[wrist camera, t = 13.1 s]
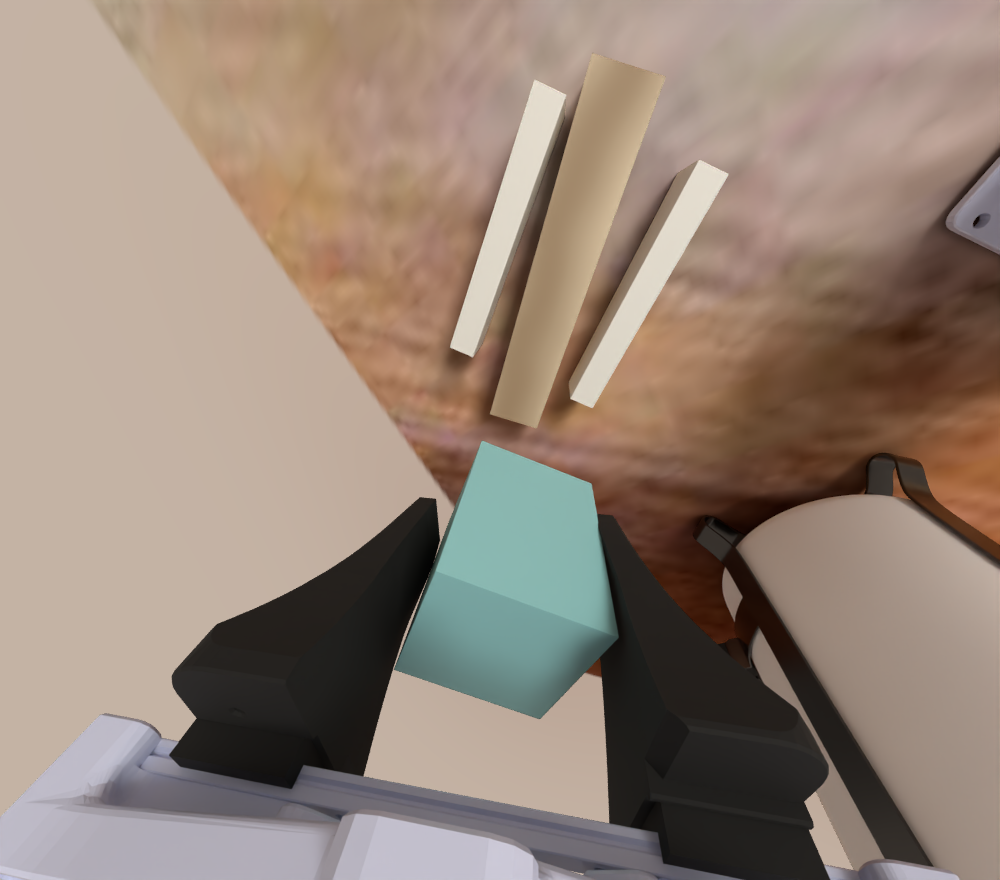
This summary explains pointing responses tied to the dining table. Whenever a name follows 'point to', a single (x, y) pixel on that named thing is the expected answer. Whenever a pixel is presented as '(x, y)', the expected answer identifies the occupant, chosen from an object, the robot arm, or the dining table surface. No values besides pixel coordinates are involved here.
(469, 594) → the block
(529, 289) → the rod
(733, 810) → the robot arm
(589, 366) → the channel
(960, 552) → the coffee press
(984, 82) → the dining table surface
